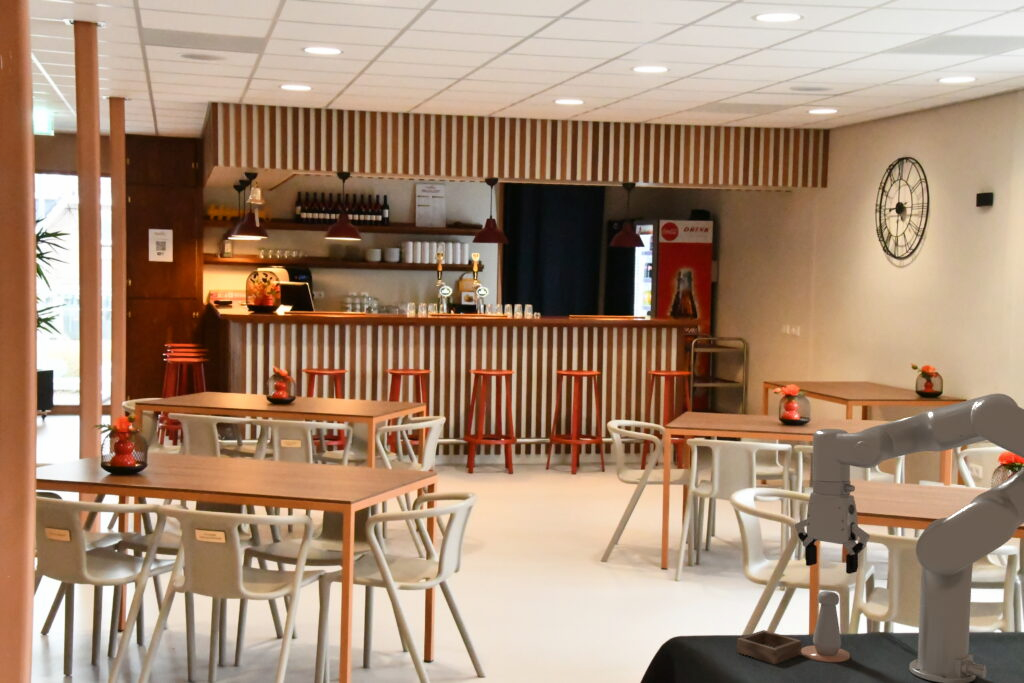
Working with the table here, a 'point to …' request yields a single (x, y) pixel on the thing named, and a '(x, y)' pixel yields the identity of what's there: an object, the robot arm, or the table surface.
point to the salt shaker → (827, 625)
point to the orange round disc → (812, 654)
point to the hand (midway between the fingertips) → (831, 568)
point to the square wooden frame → (758, 650)
